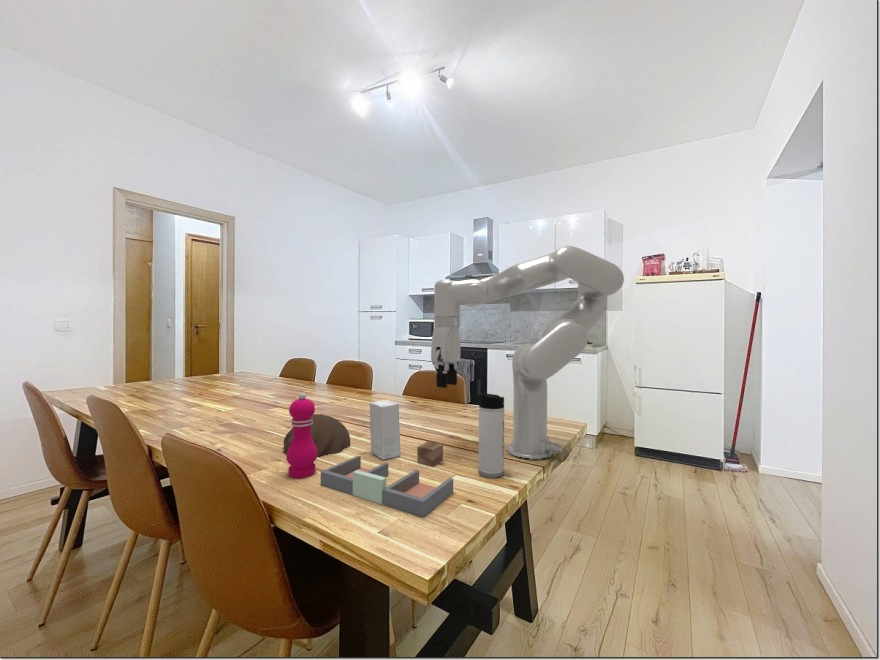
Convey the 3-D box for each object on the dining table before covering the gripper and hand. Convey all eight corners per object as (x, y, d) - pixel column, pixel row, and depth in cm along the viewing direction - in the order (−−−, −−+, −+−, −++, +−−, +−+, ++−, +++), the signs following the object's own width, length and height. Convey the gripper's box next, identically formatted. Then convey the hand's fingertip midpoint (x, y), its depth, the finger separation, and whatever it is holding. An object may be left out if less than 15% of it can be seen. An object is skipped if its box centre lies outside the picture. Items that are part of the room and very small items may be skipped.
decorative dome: (266, 454, 105) (266, 419, 104) (312, 434, 123) (312, 405, 123) (322, 462, 98) (322, 425, 98) (362, 441, 117) (362, 409, 117)
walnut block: (442, 460, 100) (442, 444, 100) (433, 467, 95) (433, 449, 95) (427, 457, 102) (427, 441, 102) (417, 463, 98) (417, 446, 98)
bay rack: (453, 492, 80) (453, 469, 80) (422, 517, 70) (423, 491, 70) (357, 467, 95) (357, 447, 94) (320, 484, 84) (320, 463, 84)
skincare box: (400, 456, 102) (401, 403, 102) (380, 461, 99) (381, 406, 99) (387, 448, 109) (388, 398, 109) (368, 452, 106) (369, 400, 106)
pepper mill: (291, 468, 94) (291, 390, 94) (320, 467, 94) (320, 389, 94) (281, 479, 87) (282, 395, 86) (313, 478, 87) (313, 395, 87)
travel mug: (472, 470, 93) (473, 391, 92) (495, 466, 95) (495, 390, 95) (485, 480, 87) (485, 396, 87) (508, 476, 89) (509, 394, 89)
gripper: (449, 323, 115) (449, 381, 116) (420, 323, 101) (419, 389, 101) (471, 323, 112) (471, 383, 112) (443, 323, 97) (443, 391, 97)
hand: (446, 385), depth 106 cm, fingers open, 5 cm apart
